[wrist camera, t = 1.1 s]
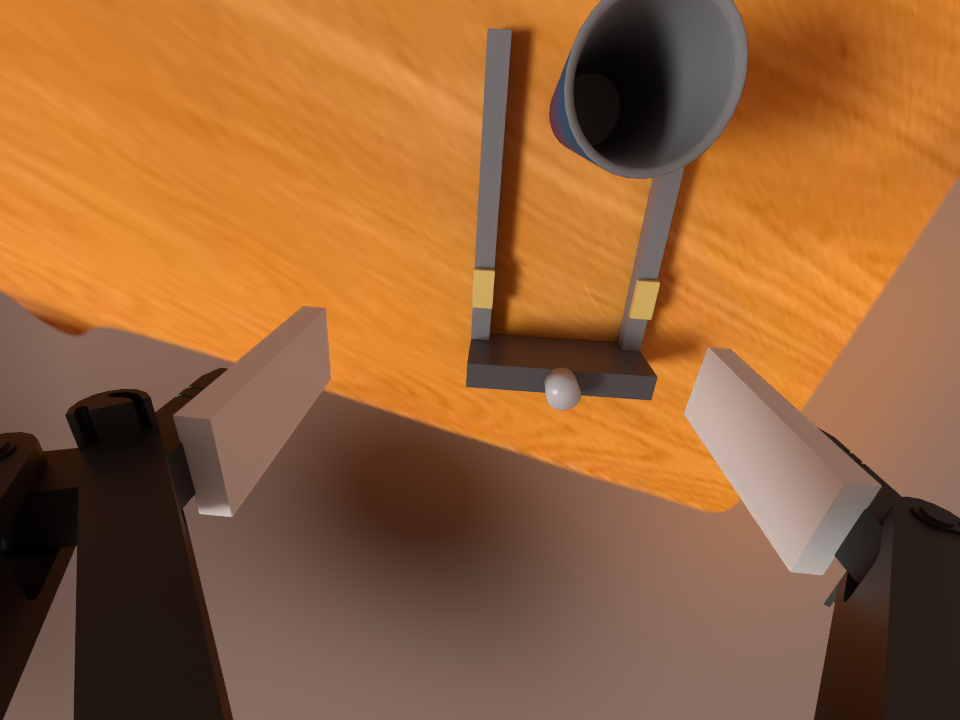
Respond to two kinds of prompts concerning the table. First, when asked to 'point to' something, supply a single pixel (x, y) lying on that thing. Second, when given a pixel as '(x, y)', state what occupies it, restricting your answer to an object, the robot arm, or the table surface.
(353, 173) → the table surface
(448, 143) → the table surface
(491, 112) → the grey u-shaped fork
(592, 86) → the cup
